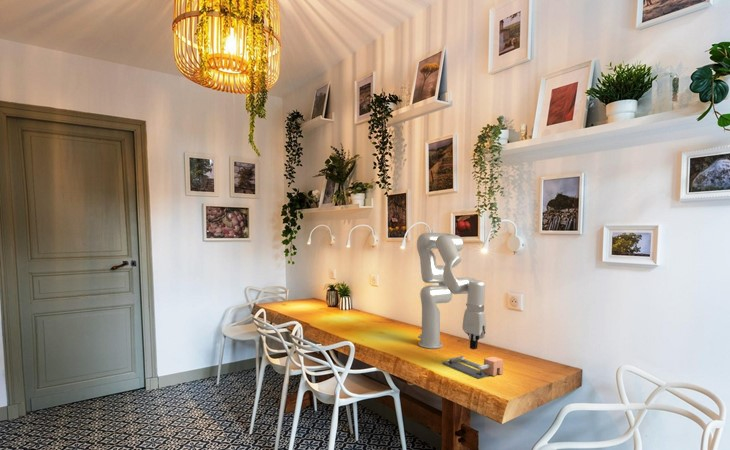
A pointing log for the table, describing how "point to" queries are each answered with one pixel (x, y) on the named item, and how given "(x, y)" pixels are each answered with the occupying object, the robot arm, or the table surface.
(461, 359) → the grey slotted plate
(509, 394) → the table surface
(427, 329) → the robot arm
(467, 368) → the bolt plate
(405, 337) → the table surface
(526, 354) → the table surface
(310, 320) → the table surface
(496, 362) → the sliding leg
